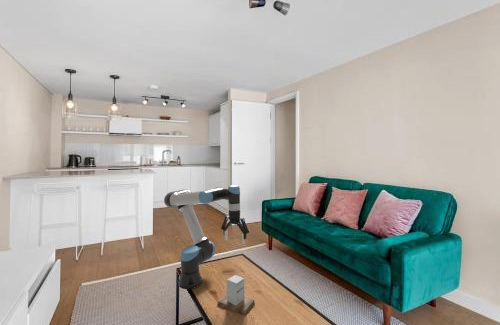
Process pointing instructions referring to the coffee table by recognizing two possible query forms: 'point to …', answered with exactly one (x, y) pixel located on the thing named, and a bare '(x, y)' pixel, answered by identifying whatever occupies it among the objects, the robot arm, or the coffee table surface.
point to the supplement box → (235, 289)
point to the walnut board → (240, 308)
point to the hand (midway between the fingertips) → (234, 242)
